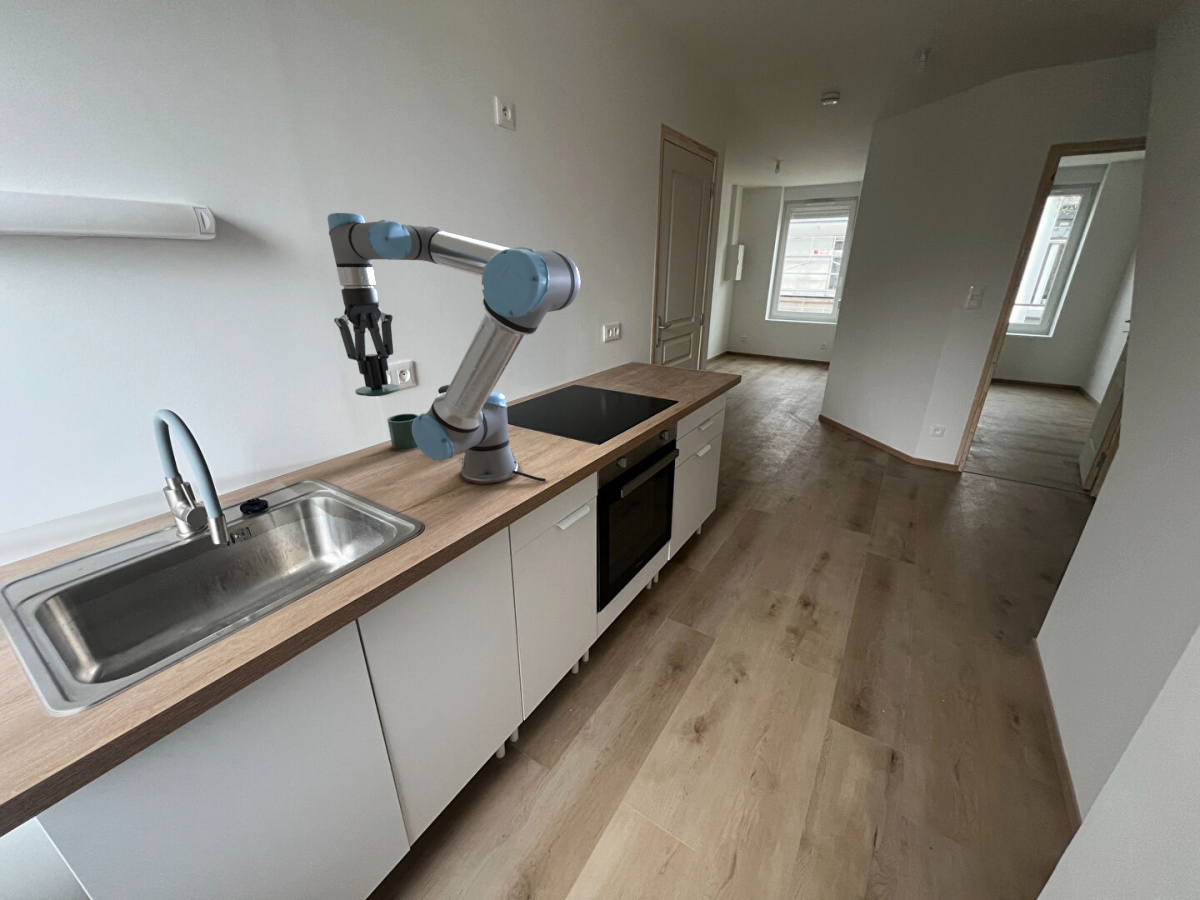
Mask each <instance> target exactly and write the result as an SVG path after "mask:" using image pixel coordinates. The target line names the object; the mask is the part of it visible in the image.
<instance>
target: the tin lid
mask: <svg viewBox="0 0 1200 900" xmlns="http://www.w3.org/2000/svg"><path fill="white" fill-rule="evenodd" d="M365 355H366V361H369V362H370V368H371V373H372V378H373V383H374V387H373V388H370V387H366V385H365V386H361V387H358V388H356V389H355V395H358V396H361V397H363V396H365V397H382V396H383V397H384V396H387V395H391V394H394V393H396V392H398V391H399V390H401V389H400V386H399V385H398V384H394V383H393V384H392V383H388V385H383V380H382V374H381V369H380V363H379V357H378V354H377V353H370V354H365Z"/></svg>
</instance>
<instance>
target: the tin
mask: <svg viewBox="0 0 1200 900" xmlns="http://www.w3.org/2000/svg"><path fill="white" fill-rule="evenodd" d="M417 416H419V414H416V413H400V414H395V415H392V416H389V417H388V418H387V419H386V420H387V426H388V432H389V437H390V442H391V446H392V449H395V450H412V449H415V448H419V447H418V446H417V444H416V442H415V439H414V437H413V433H412V423H413V421H414V419H415V418H416V417H417Z"/></svg>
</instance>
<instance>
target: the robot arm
mask: <svg viewBox="0 0 1200 900" xmlns="http://www.w3.org/2000/svg"><path fill="white" fill-rule="evenodd" d="M327 226H328V236H329V238H330V242H331V247H332V253H333V256H334V261H335V264H336V265H335V266H336V271H337V276H338V281H339V285H340V286H341V287H343V288H342V289H341V290H340V291H341V296H342V302H343V305H344V312H343V315H340V317H335V318H334V319H333V322H334V323H335V324H336V326H337V327H338V328H339V332H340V335H341V339H342V343H343V346H344V349H345V353H346V355H347V358H348V359H349V360H352V361H356V362H357V367H358V372H359V374H360V375H362V376H363V379H364V385H365V386H366V387H370V388H373V387H374V383H373V378H372V373H371V368H370V362H369V361H366V355H367V354H366V332H367V331H368V332H369V334H370V337H371V341H372V343H373V346H374V350H375V351H376V354H378V358H379V363H380V369H381V374H382V380H383V385H388V384H389V382H388V376H387V371H388V372H389V364H388V359H389V357H390V356H392V355H394V343H393V331H392V323H393V315H392V314H387V313H384V312H383V311H382V309H381V308H380V306H379V304H380V301H379V296H378V290H377V289H376V287H375V286H376V278H375V272H374V267H373V263H372V260H388V261H392V260H393V261H423V262H428V263H432V264H435V265H440V266H442V267H443V266H444V267H447V268H450V269H454V270H457V271H460V272H464V273H467V274H471V275H474V276H477V277H481V285H482V287H483V289H482V290H481V291H482V295H483V299H482V306H483V308H484V311H485V314H484V316H483V317H482V320H481V322H480V323H479V325H478V327H477V329H476V331H475V334H474V336H473V338H472V340H471V342H470V344H469V346H468V348H467V349H466V352H465V354H464V356H463V358H462V360H461V361H460V364H459V366H458V368H457V370H456V372H455V374H454V375H453V378H452V380H451V382H450V383H449V385H450V386H449V388H448V390H447V392H444V393H441V394H440V393H438V395H437V396H436V397H435V398H434V400H433V402H432V404H431V406H430V408H429V410H427V412H425V413H420V414H418V416H417V417H416V418H415V419H414V421H413V423H412V433H413V437H414V439H415V442H416V444H417V446H418V447H417V448H418V449H419V450H420V451H421V452H422V454H424V455H425V457H427V458H428V459H430V460H432V461H437V462H442V461H445V460H448V459H453V457H455V456H457V455H459V454H461V453H464V456H463V459H461V460H462V461H461V477H462V478H463V479H464V480H466V481H468V482H469V483H471V484H477V485H490V484H497V483H502V482H505V481H508V480H510V479H511V478H514V477H515V476H516V475H518V476H521V477H525V478H528V479H531V480H535V481H539V482H543V483H544V482H546V481H547V479H546V478H543V477H538V476H534V475H531V474H528V473H525V472H522V471H519V464H518V461H517V459H516V457H515V454H514V452H513V450H512V447H511V445H510V436H509V435H510V434H509V433H510V432H509V421H508V406H507V401H506V397H505V395H504V394H503V393H502V392H499V391H494V389H495V387H496V385H497V383H498V382H499V380H500V378H501V376H502V375H503V373H504V371H505V370H506V368H507V366H508V364H509V363H510V361H511V360H512V357H513V356H514V354H515V352H516V351H517V349H518V347H519V346H520V344H521V342H522V340H523V339H524V337H525V336H528V335H533V334H534V333H535V332H537V329H538V328H539V326H540V324H541V323H542V321H543V320H544V318H545V316H546V314H547V313H551V312H557V311H561V310H564V309H565V308H568V307H569V306H570V305H571V304H572V303H573V302H574V301H575V300H576V299H577V296H578V294H579V291H580V288H581V276H580V271H579V269H578V267H577V265H576V264H575V262H574V261H573V260H572V258H571V257H569V256H568V255H566V254H565V253H563V252H561V251H560V252H559V251H556V250H544V249H531V248H528V247H523V246H522V247H513V248H511V247H506V246H503V245H498V244H495V243H491V242H487V241H483V240H480V239H475V238H471V237H467V236H464V235H460V234H455V233H451V232H448V231H445V230H444V229H442V228H438V227H434V226H420V225H410V224H403V223H400V222H399V221H395V220H384V219H381V220H378V221H370V222H369V221H367V222H366V221H365V218H364V216H363V215H361V214H359V213H352V212H332V213H329V214H328V215H327ZM379 321H381V323H380V325H379ZM349 323H351V324H352V330H353V332H354V340H353V336H352V332H351V329H350V326H349V325H350V324H349ZM380 326H381V330H380ZM366 329H367V331H366ZM380 331H381V333H380Z"/></svg>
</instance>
